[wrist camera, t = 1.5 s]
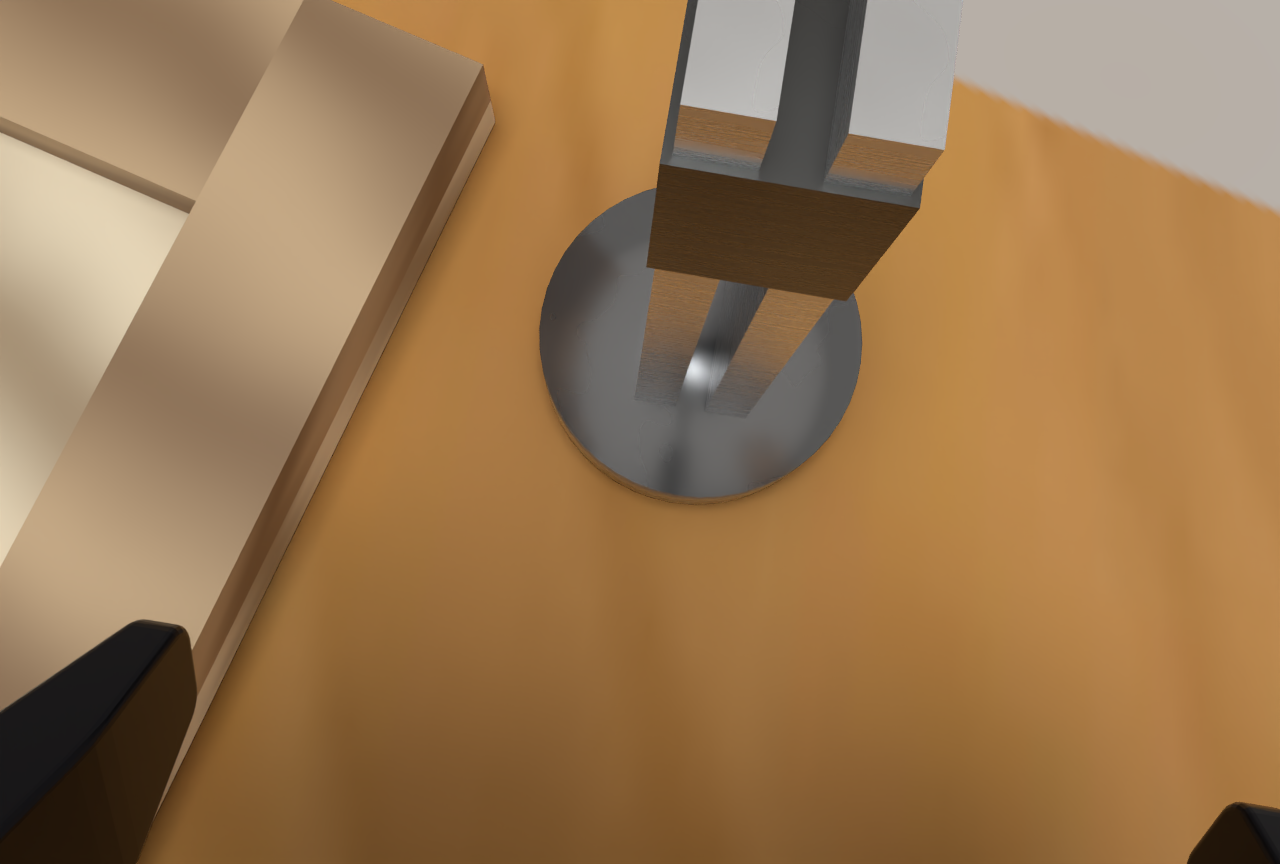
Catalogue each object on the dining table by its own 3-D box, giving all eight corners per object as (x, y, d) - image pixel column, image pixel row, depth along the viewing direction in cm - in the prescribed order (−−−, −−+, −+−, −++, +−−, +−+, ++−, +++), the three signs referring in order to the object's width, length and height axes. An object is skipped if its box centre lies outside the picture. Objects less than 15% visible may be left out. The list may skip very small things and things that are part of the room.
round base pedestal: (823, 528, 22) (1179, 393, 9) (518, 476, 22) (384, 257, 9) (863, 236, 24) (1236, -299, 10) (572, 186, 23) (529, -424, 10)
